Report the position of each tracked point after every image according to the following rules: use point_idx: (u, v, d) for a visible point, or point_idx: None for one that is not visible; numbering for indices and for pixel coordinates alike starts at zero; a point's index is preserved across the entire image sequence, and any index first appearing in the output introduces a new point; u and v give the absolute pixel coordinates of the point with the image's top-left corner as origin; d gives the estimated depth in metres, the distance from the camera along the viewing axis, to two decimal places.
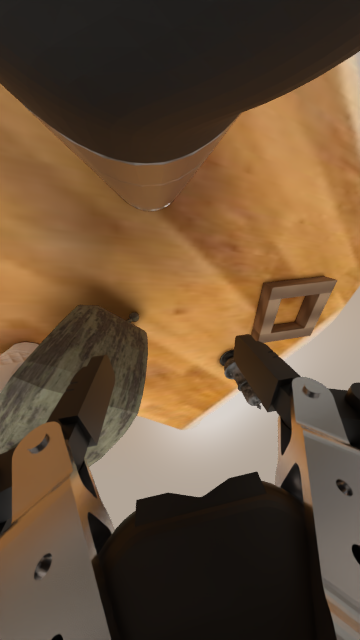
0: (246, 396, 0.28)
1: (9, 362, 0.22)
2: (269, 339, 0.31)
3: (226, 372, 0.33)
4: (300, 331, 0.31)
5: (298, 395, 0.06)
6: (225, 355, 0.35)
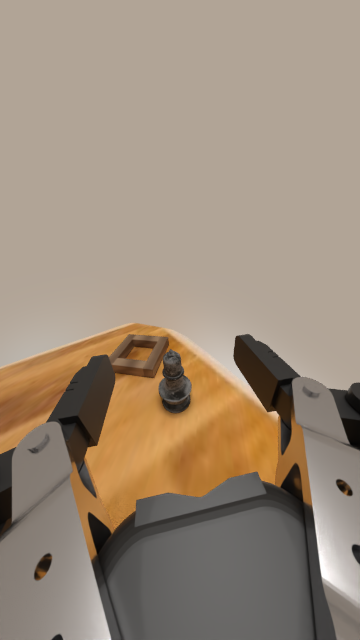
0: (167, 366, 0.23)
1: None
2: (153, 361, 0.35)
3: (170, 399, 0.25)
4: (158, 343, 0.40)
5: (298, 395, 0.06)
6: (165, 404, 0.28)
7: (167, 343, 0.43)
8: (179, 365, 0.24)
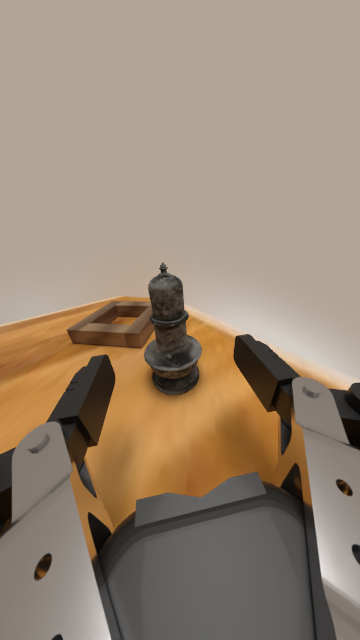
0: (157, 297, 0.12)
1: None
2: (141, 324, 0.23)
3: (163, 366, 0.13)
4: (150, 307, 0.29)
5: (298, 395, 0.06)
6: (157, 381, 0.16)
7: None
8: (180, 297, 0.12)
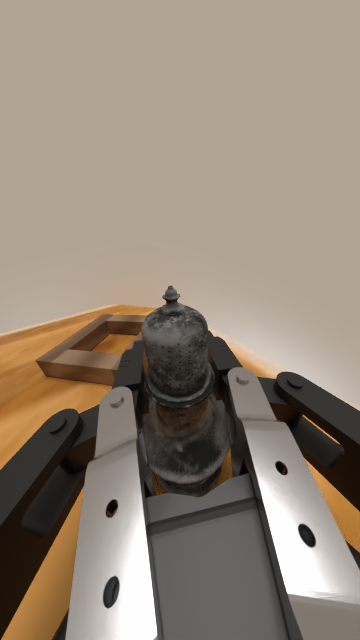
0: (158, 357, 0.06)
1: None
2: None
3: (169, 469, 0.07)
4: None
5: (234, 387, 0.06)
6: None
7: None
8: (204, 352, 0.06)
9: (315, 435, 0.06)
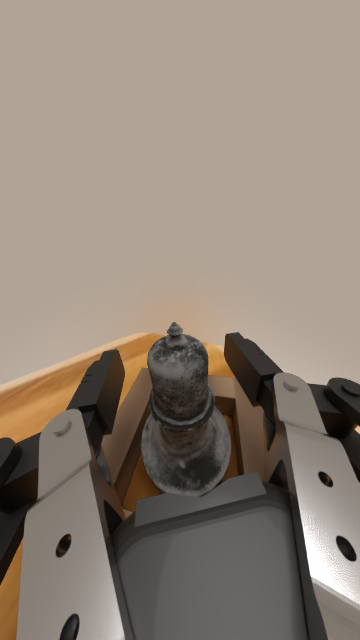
0: (163, 387, 0.06)
1: None
2: None
3: (173, 485, 0.08)
4: (243, 407, 0.12)
5: (279, 391, 0.06)
6: None
7: None
8: (205, 380, 0.07)
9: None
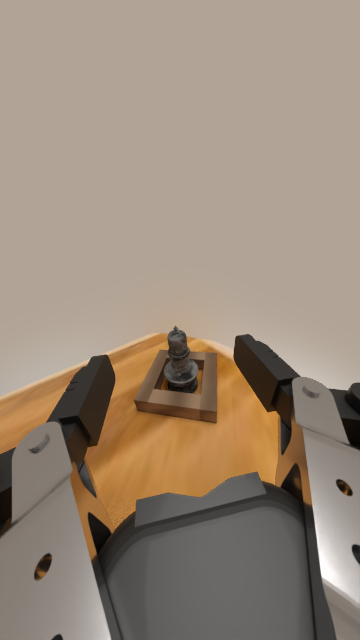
0: (172, 344, 0.22)
1: None
2: (212, 394, 0.22)
3: (176, 380, 0.24)
4: (207, 362, 0.28)
5: (298, 395, 0.06)
6: (171, 389, 0.26)
7: None
8: (185, 343, 0.23)
9: None
